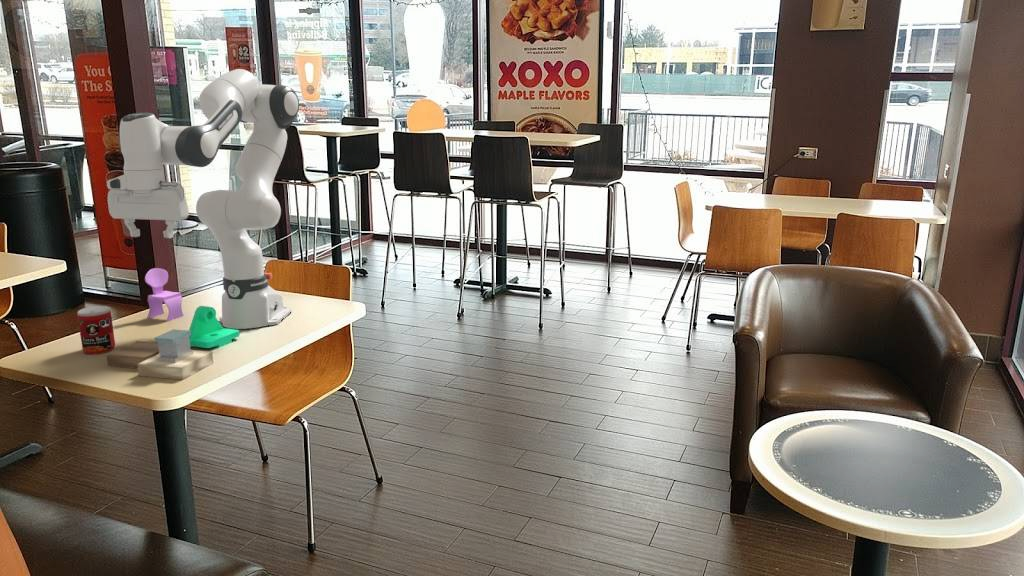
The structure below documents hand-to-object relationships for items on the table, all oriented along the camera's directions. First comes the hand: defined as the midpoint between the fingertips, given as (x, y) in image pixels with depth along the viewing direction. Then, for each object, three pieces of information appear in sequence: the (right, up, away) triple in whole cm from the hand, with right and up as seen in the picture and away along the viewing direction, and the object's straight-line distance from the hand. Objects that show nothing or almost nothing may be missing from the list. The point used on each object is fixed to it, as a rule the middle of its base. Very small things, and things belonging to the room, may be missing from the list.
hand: (152, 237), depth 191 cm
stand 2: (+7, -33, -2) cm, 33 cm away
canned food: (-20, -29, +13) cm, 38 cm away
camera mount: (+9, -28, +18) cm, 34 cm away
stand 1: (-5, -31, +5) cm, 32 cm away
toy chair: (-16, -22, +43) cm, 51 cm away
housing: (+7, -30, -3) cm, 31 cm away
